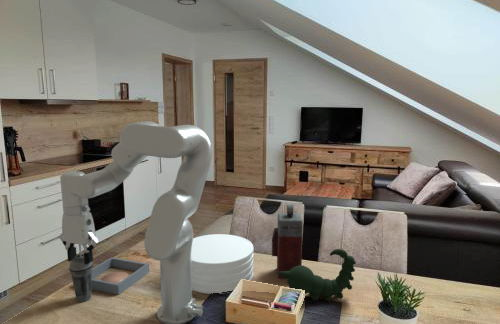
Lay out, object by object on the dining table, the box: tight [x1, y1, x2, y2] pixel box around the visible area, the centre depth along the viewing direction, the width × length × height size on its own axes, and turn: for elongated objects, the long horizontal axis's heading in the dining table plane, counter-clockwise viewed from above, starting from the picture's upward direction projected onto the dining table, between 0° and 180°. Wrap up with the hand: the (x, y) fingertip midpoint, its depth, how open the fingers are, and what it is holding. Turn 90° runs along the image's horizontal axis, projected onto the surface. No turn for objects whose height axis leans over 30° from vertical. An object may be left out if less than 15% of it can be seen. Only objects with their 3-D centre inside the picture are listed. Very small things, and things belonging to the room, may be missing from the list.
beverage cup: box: [68, 244, 94, 303], centre depth 121 cm, size 7×7×20 cm
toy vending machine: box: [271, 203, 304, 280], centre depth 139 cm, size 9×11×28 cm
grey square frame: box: [91, 256, 150, 295], centre depth 136 cm, size 18×18×4 cm
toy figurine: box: [279, 248, 357, 303], centre depth 123 cm, size 9×19×25 cm
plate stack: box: [191, 233, 254, 295], centre depth 139 cm, size 28×28×12 cm
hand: (80, 260), depth 121 cm, fingers closed on beverage cup, 6 cm apart
